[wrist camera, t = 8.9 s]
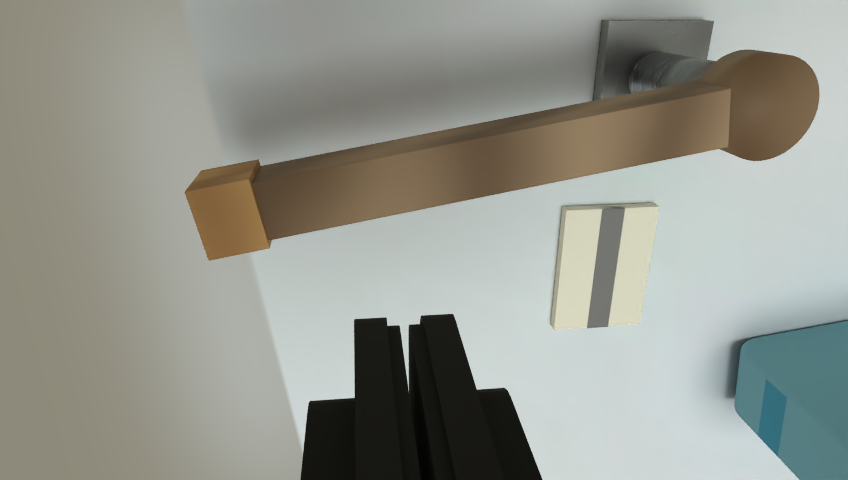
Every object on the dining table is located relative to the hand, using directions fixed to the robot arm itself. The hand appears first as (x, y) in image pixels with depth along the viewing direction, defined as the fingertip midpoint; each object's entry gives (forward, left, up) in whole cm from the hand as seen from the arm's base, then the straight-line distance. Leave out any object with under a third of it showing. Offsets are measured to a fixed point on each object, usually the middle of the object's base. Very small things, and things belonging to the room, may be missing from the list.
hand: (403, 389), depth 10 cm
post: (-3, +14, -19) cm, 24 cm away
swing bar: (-1, +5, -12) cm, 13 cm away
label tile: (+7, +13, -19) cm, 24 cm away
